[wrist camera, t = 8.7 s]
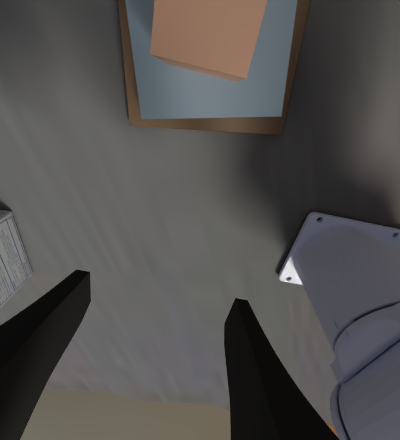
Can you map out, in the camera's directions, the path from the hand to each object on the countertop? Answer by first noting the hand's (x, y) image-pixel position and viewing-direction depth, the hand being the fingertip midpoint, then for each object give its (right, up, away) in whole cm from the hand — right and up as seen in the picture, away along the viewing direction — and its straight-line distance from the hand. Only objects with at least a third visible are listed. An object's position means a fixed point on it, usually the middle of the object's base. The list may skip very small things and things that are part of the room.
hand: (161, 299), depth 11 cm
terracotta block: (+2, +14, +1) cm, 15 cm away
